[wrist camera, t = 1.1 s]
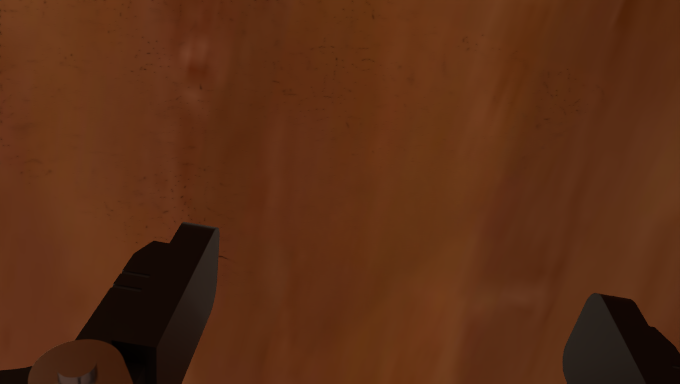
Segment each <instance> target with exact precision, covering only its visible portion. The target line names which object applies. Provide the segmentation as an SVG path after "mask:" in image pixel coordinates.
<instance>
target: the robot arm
mask: <svg viewBox="0 0 680 384" xmlns="http://www.w3.org/2000/svg"><path fill="white" fill-rule="evenodd" d="M218 253H219V228H217V227H211V226H205V225H199V224H193V223H187V222H183V223H182V224H181V225H180V227H179V229H178V230H177V232H176V234H175V235H174V237H173V239H172V240H171V242H170V243H163V242H158V241H153V242H151V243H149V244H148V245H146V246H145V247H143V248H142V249H140V250H139V251H137V252H135V253H134V254H133V256H132V257H131V259H130V260H129V261H128V263H127V264H126V266H125V267H124V269H123V271H122V274H121V273H120V275H119V276H118V278H117V279H116V281H115V282H114V284H113V287H112V288H110V289H109V291H108V292H107V294H106V295H105V297H104V298H103V300H102V301H101V303H100V304H99V306H98V307H97V309H96V310H95V311H94V313H93V314H92V316H91V317H90V319H89V320H88V322H87V323H86V325H85V326H84V328H83V329H82V331H81V332H80V333H79V335H78V336H77V338H76V339H75V340H74V341H70V342H66V343H63V344H60V345H58V346H56V347H54V348H52V349H50V350H49V351H47V352H46V353H44V354H43V355H42V356H41V357H40V358H39V359H38V360H37V361H36V362H35V363H34V365H33V366H31V367H26V368H20V369H12V370H1V371H0V384H182V381H183V379H184V376H185V374H186V371H187V369H188V367H189V364H190V362H191V359H192V357H193V354H194V352H195V349H196V347H197V345H198V342H199V340H200V337H201V335H202V332H203V330H204V328H205V325H206V323H207V320H208V318H209V315H210V313H211V310H212V306H213V303H214V298H215V293H216V285H217V270H218ZM563 372H564V376H565V379H566V381H567V384H680V354H679V352H678V350H677V349H676V347H675V346H674V345H673V344H672V343H671V342H670V341H669V340H668V339H666V338H665V337H664V336H663V335H662V334H661V333H660V332H659V331H658V330H657V329H656V328H655V327H650V326H648V324H647V322H646V320H645V319H644V317H643V315H642V314H641V312H640V310H639V308H638V307H637V305H636V303H635V302H634V301H633V300H631V299H627V298H621V297H615V296H609V295H603V294H597V293H594V294H592V295H591V296H590V297H589V298H588V299H587V301H586V303H585V305H584V307H583V309H582V312H581V314H580V316H579V318H578V320H577V322H576V324H575V326H574V328H573V331H572V333H571V335H570V337H569V339H568V341H567V343H566V346H565V349H564V353H563Z"/></svg>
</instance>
